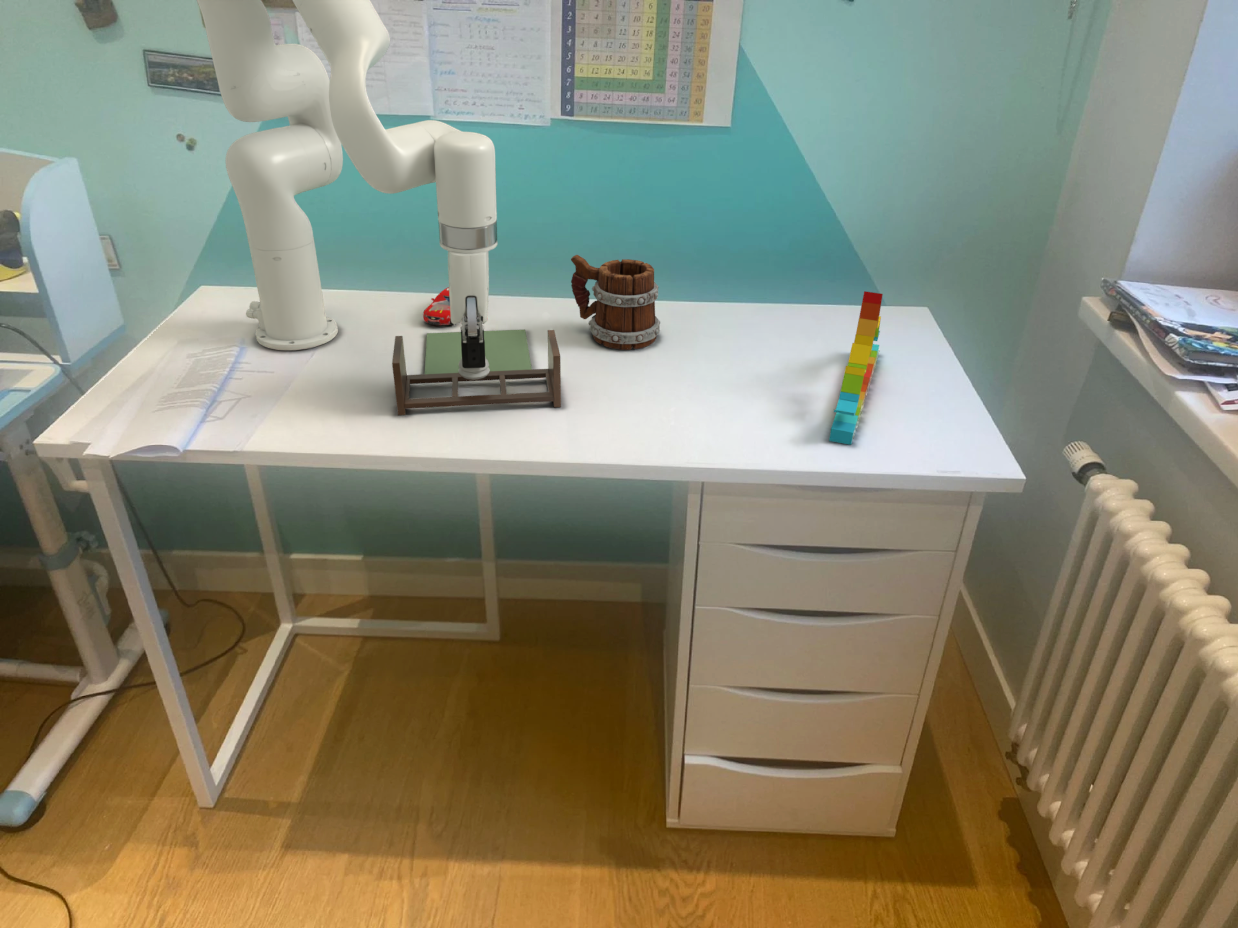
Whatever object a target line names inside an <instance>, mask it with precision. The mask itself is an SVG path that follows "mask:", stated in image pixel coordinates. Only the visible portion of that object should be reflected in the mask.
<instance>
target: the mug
mask: <svg viewBox="0 0 1238 928" xmlns="http://www.w3.org/2000/svg"><path fill="white" fill-rule="evenodd" d="M570 261H571V262H572V264H573V265H574V267H575V271H574V272H573V273H572V276H571V280H570V283H571V285H570V286H571V291H572V294H573V297H574V300H575V303H576V305H577V307H578V308H579V317H580V319H583V320H587V319H589V318H590V317H591V316H592V315H593V316H592V317H591V319H590V320H589V321H588V325H589V330H590V332H591V334H592V337H593V339H594V341H595V342H596V343H597V344H599V345H601V346H602V345H603V346H604V347H606V348H608V349H609V348H610V349H612V350H621V351H631V350H632V348H633V349H634V350H639V349H644V348H647V347H649V346H651V345H653V343H654V342H656V340H657V337H658V335H660V329H661V328H660V326H661V320H660V319H659V318H658V317H657V316H656V300H658V299H659V298H658V297H659V288H660V287H659V285H658V284H657V283H656V281H655V268H654V267H653V266H652V264H649V263H648V262H644V261H642V260H637V259H627V258H624V259H621V261H620V260H619V259H613V260H609V261H605V262H604V263H603V264H601V265H600V266H599V267H595V266H592V265H591V264H589V262H588V261H587V259H585V258H584V257H582V256H580V255H579V254H575V255H573V256H572V257H571V258H570ZM589 280H591V281H592V280H593V281H595V283H594V285H593V286H592V287H591V291H592V292H593V294H592V295H593V297H594V298H595V300H594V301H593V302H592V303H591V304H590V296H591V292H590V290H589V289H587V287H586V285H587V283H588V281H589ZM589 304H590V305H589Z"/></svg>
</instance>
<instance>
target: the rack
mask: <svg viewBox="0 0 1238 928" xmlns="http://www.w3.org/2000/svg"><path fill="white" fill-rule="evenodd" d="M555 331H556V330H555V329H547V368H534V369H533V368H532V369H530V370H508V371H489V373H488V374H487V376H485V377H484V378H481V379H475V380H472V379H466V378H464V377H462V376H461V375H460V374H459V373H441V374H425V373H423V374H421V373H420V374H407V365H406V355H405V346H404V337H403V335H395V337H394V345H393V350H392V351H393V352H392V358H391V359H392V361H391V366H392V368H391V369H392V376H393V384H394V392H395V400H396V409H397V410H396V411H397V416H406V411H407V409H408V410H409V409H428V408H446V407H449V408H450V407H466V406H468V407H469V406H488V405H489V406H490V405H507V404H525V403H526V404H527V403H545V402H552V404H553V408H561V407H562V381H561V380H562V378H561V377H562V376H561V375H562V372H561V366H562V365H561V353H560V348H559V344H558V339H557V336H556V332H555ZM526 379H527V380H528V379H545V382H546V387H547V391H539V392H537V391H536V392H519V393H508V392H507V384H506V380H526ZM483 381H487V382H488V381H499V389H500V393H499V394H498V393H497V394H477V395H476V394H475V395H459V383H462V382H465V383H466V382H483ZM440 383H441V384H442V383H451V396H441V397H439V396H438V397H437V396H436V397H434V396H433V397H417V398H416V397H414V398H410V393H411V392H410V391H411V385H420V384H440Z"/></svg>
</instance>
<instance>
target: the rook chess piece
mask: <svg viewBox="0 0 1238 928" xmlns="http://www.w3.org/2000/svg"><path fill="white" fill-rule="evenodd" d="M482 328H483V329H484V330H485V326H484V324H482ZM466 329H468V326H466ZM477 329H479V325H478V326H477ZM461 330H462V325H460V331H461ZM466 338H467V337H466ZM485 363H486V366H485V367H484V368H463V367H462V357H461V360H460V361H459V364H458V365H459V370H458V371H459V374H460V375H461V376H462V377H464V378H466V379H472V380H475V379H481V378H484V377H485V376H487V374H488V373H489V371H490V369H489V367H488V366H489V363H488V360H487V359H486V356H485Z"/></svg>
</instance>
